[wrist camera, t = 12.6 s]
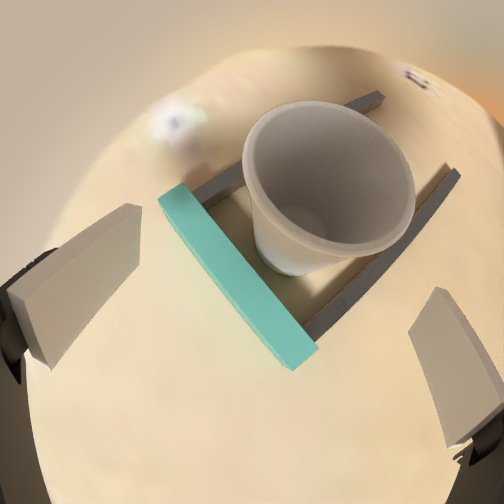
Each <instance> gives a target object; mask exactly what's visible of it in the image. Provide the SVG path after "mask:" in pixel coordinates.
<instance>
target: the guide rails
mask: <svg viewBox="0 0 504 504" xmlns="http://www.w3.org/2000/svg"><path fill="white" fill-rule="evenodd" d="M384 98H385V96H383V95H382V94H381V93H380V92H379V91H375V92H372V93H370V94H368V95H366V96H363V97H361V98H359V99H357V100H355V101H353V102H350V103H348V104H346V105H344V107H347V108H350V109H352V110H354V111H356V112H358V113H360V114H362V115H363V114H365V113H367V112H368V111H370V110H372V109H374V108H376V107H378V106H380V105H381V103H382V101H383V100H384ZM460 177H461V175H460V174H459V173H458V171H457V170H456V169H455V168H453V169H452V170H451V171H450V172H449V173H448V174H447V175H446V176H445V177H444V179H443V180H442V181H441V182H440V184H439V185H438V186H437V187H436V188H435V190H434V191H433V192H432V193H431V195H430V196H429V197H428V198H427V199H426V201H425V202H424V203H423V204H422V205H421V206H420V208H419V209H418V210H417V211H416V212H415V213H414V215H413V217H412V220H411V222H410V224H409V226H408V228H407V230H406V231H405V233H404V234H403V235H402V236H401V237H400V239H399V240H397V241H396V242H395V243H394V244H393V245H391V246H390V247H388V248H387V249H385V250H383V251H381V252H379V253H378V254H377V255H376V256H375V257H374V258H373V259H372V260H371V261H370V262H369V263H368V264H367V265H366V266H365V267H364V268H363V269H362V270H361V271H360V272H359V273H358V274H357V275H356V276H355V277H354V278H353V279H352V280H351V281H350V282H349V283H348V284H347V285H346V286H345V287H344V288H343V289H342V290H341V291H340V292H338V293H337V294H336V295H335V296H334V297H333V298H332V299H331V300H330V301H329V302H328V303H327V304H326V305H325V306H323V307H322V308H321V309H320V310H319V311H318V312H317V313H316V314H315V315H314V316H312V317H311V318H310V319H309V320H308V321H307V322H306V323H305V324H303V325H302V326H301V327H302V328H303V330H304V331H305V332H306V333H307V334H308V336H309V337H310V338H311V339H312V340H313V342H315V341H317V340H318V339H319V338H320V337H321V336H322V335H323V334H324V333H325V332H326V331H327V330H329V329H330V328H331V327H332V326H333V325H334V324H335V323H336V322H337V321H338V320H339V319H340V318H341V317H342V316H343V315H344V314H345V313H346V312H347V311H348V310H349V309H350V308H351V307H352V306H353V305H354V304H355V303H356V302H357V301H358V300H359V299H360V298H361V297H362V296H363V295H364V294H365V293H366V292H367V291H368V290H369V289H370V288H371V287H372V286H373V285H374V284H375V283H376V281H377V280H378V279H379V278H380V277H381V276H382V275H383V274H384V273H385V272H386V271H387V269H388V268H389V267H390V266H391V265H392V264H393V263H394V262H395V260H396V259H397V258H398V257H399V256H400V255H401V254H402V252H403V251H404V250H405V249H406V248H407V247H408V245H409V244H410V243H411V242H412V241H413V239H414V238H415V237H416V236H417V234H418V233H419V232H420V231H421V230H422V228H423V227H424V226H425V225H426V223H427V222H428V221H429V219H430V218H431V217H432V216H433V214H434V213H435V212H436V210H437V209H438V208H439V206H440V205H441V204H442V202H443V201H444V200H445V198H446V197H447V195H448V194H449V193H450V191H451V190H452V188H453V187H454V186H455V184H456V183H457V181H458V180H459V178H460ZM245 184H246V182H245V178H244V174H243V167H242V161H240V162H239V163H237V164H236V165H234V166H232V167H231V168H229V169H227V170H226V171H224V172H223V173H221V174H219V175H218V176H216V177H215V178H213V179H211V180H210V181H208V182H207V183H205V184H204V185H202V186H201V187H199V188H198V189H196V190H195V191H193V192H192V194H193V196H194V197H195V198H196V199H197V201H198V202H199V203H200V204H201V206H202V207H203V208H204V209H205V211H206V210H208V209H209V208H211V207H212V206H213V205H215V204H216V203H218V202H219V201H221V200H222V199H224V198H225V197H227V196H228V195H230V194H231V193H233V192H234V191H236V190H237V189H239V188H240V187H242V186H243V185H245Z"/></svg>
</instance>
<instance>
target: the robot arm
mask: <svg viewBox="0 0 504 504" xmlns="http://www.w3.org/2000/svg"><path fill="white" fill-rule="evenodd" d="M141 215H142V207H141V206H137V205H133V204H129V203H126V204H124V205H122V206H121V207H119V208H117V209H116V210H114V211H113V212H111V213H109V214H108V215H106V216H105V217H103V218H102V219H100V220H99V221H97V222H96V223H94V224H92V225H91V226H89V227H88V228H86V229H85V230H84V231H82V232H81V233H79V234H78V235H76V236H75V237H73V238H72V239H71V240H69V241H68V242H66V243H65V244H63V245H62V246H61V247H59V248H54V249H52V250H49V251H46V252H44V253H43V254H41V255H40V256H39V257H37V258H36V259H35V260H34V262H31V263H29V264H28V265H27V266H26V268H23V269H22V270H21V271H19V272H18V273H17V274H15V275H14V276H13V277H12V278H11V279H9V280H8V281H7V282H6V283H5V284H3V285H2V286H1V287H0V504H51V501H50V498H49V495H48V492H47V489H46V486H45V483H44V479H43V476H42V472H41V469H40V465H39V461H38V457H37V452H36V448H35V443H34V438H33V432H32V426H31V420H30V412H29V404H28V394H27V381H26V361H25V357H24V355H23V354H24V352H25V351H26V350H27V349H28V348H29V351H30V353H31V355H32V357H33V359H34V361H36V362H37V363H39V364H40V365H42V366H43V367H45V368H47V369H48V370H50V371H52V369H53V368H54V367H55V365H56V364H57V363H58V361H59V360H60V359H61V357H62V356H63V355H64V353H65V352H66V351H67V349H68V348H69V347H70V346H71V344H72V343H73V342H74V340H75V339H76V338H77V337H78V335H79V334H80V333H81V332H82V330H83V329H84V328H85V327H86V325H87V324H88V323H89V322H90V320H91V319H92V318H93V317H94V316H95V314H96V313H97V312H98V311H99V310H100V308H101V307H102V306H103V305H104V304H105V302H106V301H107V300H108V299H109V298H110V297H111V296H112V294H113V293H114V292H115V291H116V290H117V289H118V287H119V286H120V285H121V284H122V283H123V282H124V281H125V280H126V278H127V277H128V276H129V275H130V274H131V273H132V272H133V271H134V270H135V268H136V267H137V266H138V265H139V255H140V231H141ZM408 334H409V336H410V338H411V341H412V343H413V346H414V348H415V351H416V353H417V356H418V358H419V361H420V363H421V366H422V369H423V371H424V374H425V377H426V380H427V382H428V385H429V388H430V391H431V394H432V397H433V400H434V403H435V406H436V409H437V413H438V416H439V419H440V423H441V426H442V430H443V433H444V437H445V441H446V445H447V449H448V448H453V447H458V446H461V445H462V444H463V443H465V442H466V441H467V440H469V439H470V438H471V437H472V440H473V442H472V443H471V444H470V445H468V446H467V447H466V448H464V449H463V450H462V451H460V452H459V453H458V454H456V455H455V456H454V457H453V460H455V459H457V458H458V457H460V456H463V457H462V458H460V459H459V460H458V461H457V462H458V463H459V464H461V466H460V469H459V472H458V475H457V477H456V480H455V482H454V485H453V487H452V490H451V492H450V494H449V497H448V499H447V501H446V503H445V504H504V383H503V381H502V379H501V377H500V375H499V373H498V371H497V369H496V367H495V366H494V364H493V362H492V360H491V358H490V356H489V355H488V353H487V351H486V349H485V348H484V346H483V344H482V343H481V341H480V339H479V338H478V336H477V334H476V333H475V331H474V329H473V328H472V326H471V325H470V323H469V322H468V320H467V319H466V317H465V315H464V314H463V312H462V311H461V309H460V308H459V307H458V305H457V304H456V302H455V301H454V299H453V298H452V296H451V295H450V294H449V292H448V291H447V290H445V289H442V288H439V287H435V289H434V291H433V293H432V294H431V296H430V298H429V300H428V301H427V303H426V305H425V306H424V308H423V309H422V311H421V313H420V314H419V316H418V317H417V319H416V321H415V322H414V324H413V325H412V327H411V328H410V330H409V331H408Z"/></svg>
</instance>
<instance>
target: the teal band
mask: <svg viewBox="0 0 504 504" xmlns="http://www.w3.org/2000/svg"><path fill="white" fill-rule="evenodd" d="M158 201H159V204H160V206H161V208H162V210H163V212H164V214H165V216H166V218H167V220H168V221H169V223H170V224H171V225H172V227H173V228H174V230H175V231H176V232H177V234H178V235H179V236H180V238H181V239H182V240H183V242H184V243H185V244H186V246H187V247H188V248H189V250H190V251H191V252H192V254H193V255H194V256H195V258H196V259H197V260H198V262H199V263H200V264H201V266H202V267H203V268H204V270H205V271H206V272H207V273H208V275H209V276H210V277H211V279H212V280H213V281H214V282H215V284H216V285H217V286H218V288H219V289H220V290H221V291H222V293H223V294H224V295H225V296H226V298H227V299H228V300H229V302H230V303H231V304H232V305H233V307H234V308H235V309H236V310H237V311H238V313H239V314H240V315H241V316H242V318H243V319H244V320H245V321H246V323H247V324H248V325H249V326H250V327H251V329H252V330H253V331H254V332H255V334H256V335H257V336H258V337H259V338H260V340H261V341H262V342H263V343H264V344H265V345H266V347H267V348H268V349H269V350H270V351H271V353H272V354H273V355H274V356H275V357H276V358H277V360H278V361H279V362H280V363H281V364H282V365H283V366H285V367H287V368H289V369H290V370H292V371H294V370H295V369H296V368H297V367H298V366H299V365H301V364H302V363H303V362H304V361H305V360H306V359H308V358H309V357H310V356H311V355H312V354H313V353H314V352H315V351H316V350H318V349H319V347H318V346H317V345H316V344H315V343H314V342H313V340H312V339H311V338H310V337H309V336H308V334H307V333H306V332H305V331H304V330H303V328H302V327H301V326H300V325H299V324H298V322H297V321H296V320H295V319H294V318H293V316H292V315H291V314H290V313H289V312H288V310H287V309H286V308H285V307H284V306H283V304H282V303H281V302H280V301H279V300H278V298H277V297H276V296H275V295H274V293H273V292H272V291H271V290H270V289H269V287H268V286H267V285H266V284H265V283H264V281H263V280H262V279H261V278H260V277H259V275H258V274H257V273H256V272H255V270H254V269H253V268H252V267H251V266H250V264H249V263H248V262H247V261H246V260H245V258H244V257H243V256H242V255H241V253H240V252H239V251H238V250H237V249H236V247H235V246H234V245H233V244H232V242H231V241H230V240H229V239H228V238H227V236H226V235H225V234H224V233H223V231H222V230H221V229H220V228H219V226H218V225H217V224H216V223H215V222H214V220H213V219H212V218H211V217H210V215H209V214H208V213H207V212H206V211H205V209H204V208H203V207H202V206H201V204H200V203H199V202H198V201H197V199H196V198H195V197H194V196H193V194H192V193H191V192H190V191H189V189H188V188H187V187H186V186H185V185H184V183H183V182H182V183H180V184H179V185H177V186H176V187H174V188H173V189H171V190H170V191H168V192H167V193H165V194H164V195H163V196H161V197H160V198H158Z"/></svg>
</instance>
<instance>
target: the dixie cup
mask: <svg viewBox="0 0 504 504" xmlns="http://www.w3.org/2000/svg"><path fill="white" fill-rule="evenodd" d="M242 167H243V174H244V178H245V182H246V185H247V187H248V190H249V192H250V199H251V208H252V217H253V226H254V236H255V244H256V248H257V251H258V253H259V255H260V257H261V259H262V260H263V261H264V262H265V264H266V265H267V266H269V267H270V268H271V269H273V270H274V271H276V272H278V273H280V274H283V275H287V276H302V275H306V274H309V273H311V272H314V271H317V270H319V269H322V268H325V267H327V266H330V265H333V264H336V263H338V262H341V261H343V260H346V259H349V258H351V257H363V256H368V255H372V254H375V253H378V252H381V251H383V250H385V249H387V248H388V247H390V246H391V245H393V244H394V243H395V242H396V241H397V240H399V239H400V237H401V236H402V235H403V234H404V233H405V231H406V230H407V228H408V226H409V224H410V222H411V220H412V217H413V213H414V209H415V200H416V194H415V185H414V180H413V176H412V173H411V170H410V167H409V165H408V163H407V161H406V159H405V157H404V155H403V153H402V152H401V150H400V149H399V147H398V146H397V144H396V143H395V142H394V141H393V139H392V138H391V137H390V136H389V135H388V134H387V133H386V132H385V131H384V130H383V129H382V128H381V127H379V126H378V125H377V124H376V123H374V122H373V121H372V120H370V119H369V118H367V117H365V116H364V115H362V114H360V113H358V112H356V111H354V110H352V109H350V108H347V107H344V106H341V105H338V104H334V103H330V102H324V101H297V102H291V103H287V104H284V105H281V106H279V107H276V108H274V109H272V110H271V111H269V112H267V113H266V114H265V115H263V116H262V117H261V118H260V119H259V120H258V121H257V122H256V123H255V124H254V126H253V127H252V128H251V130H250V132H249V133H248V135H247V138H246V140H245V143H244V147H243V153H242Z"/></svg>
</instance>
